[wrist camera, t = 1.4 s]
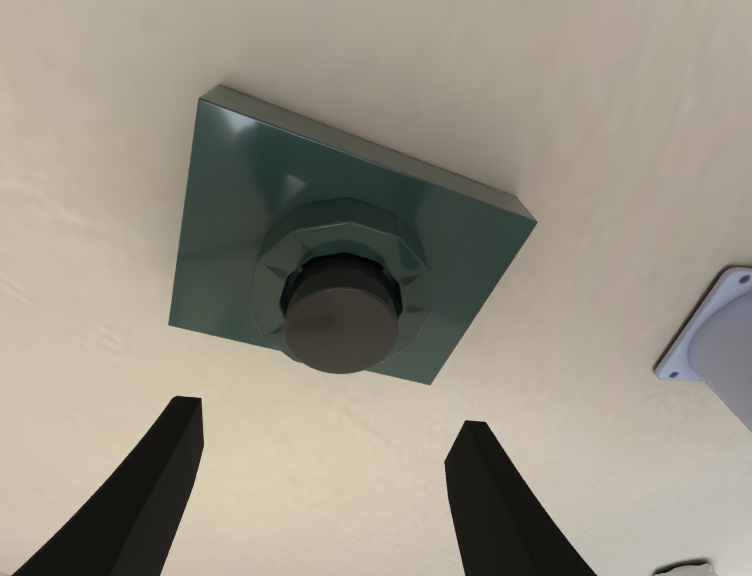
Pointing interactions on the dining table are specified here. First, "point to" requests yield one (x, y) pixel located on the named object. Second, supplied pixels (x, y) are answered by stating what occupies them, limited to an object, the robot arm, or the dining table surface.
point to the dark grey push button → (341, 316)
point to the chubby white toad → (691, 571)
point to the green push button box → (331, 230)
